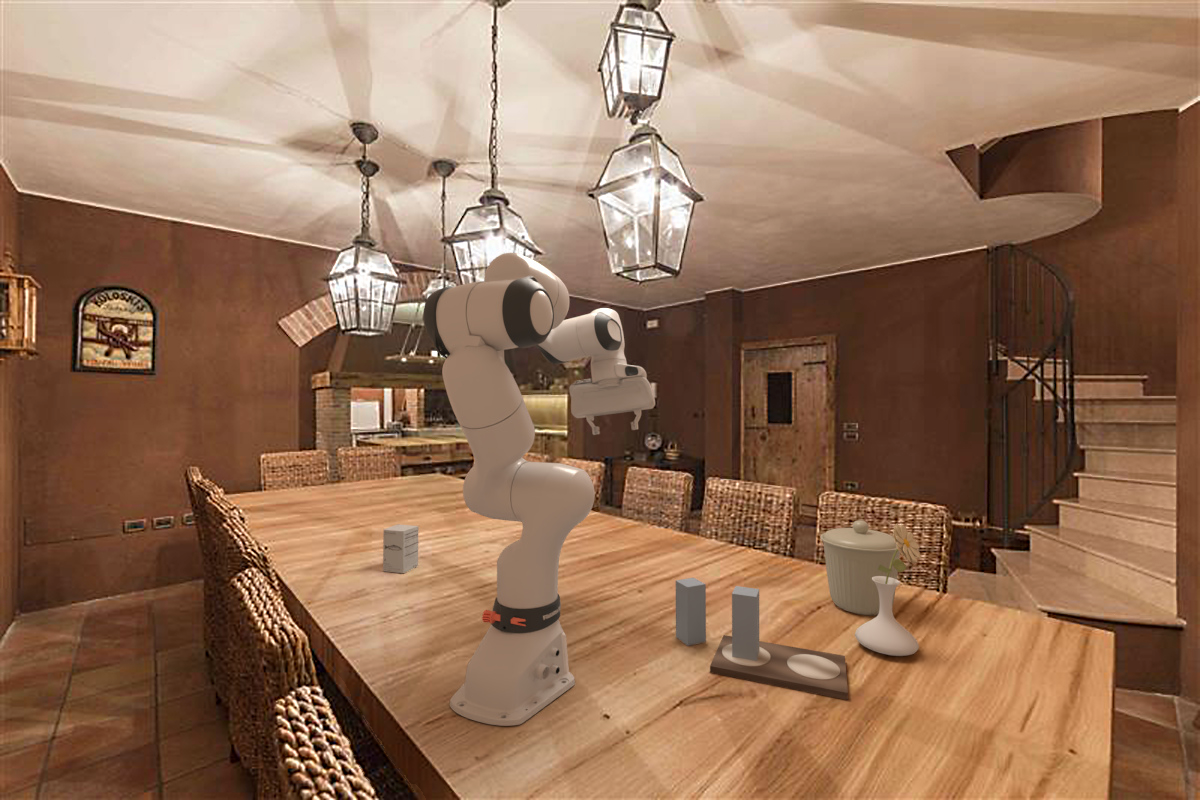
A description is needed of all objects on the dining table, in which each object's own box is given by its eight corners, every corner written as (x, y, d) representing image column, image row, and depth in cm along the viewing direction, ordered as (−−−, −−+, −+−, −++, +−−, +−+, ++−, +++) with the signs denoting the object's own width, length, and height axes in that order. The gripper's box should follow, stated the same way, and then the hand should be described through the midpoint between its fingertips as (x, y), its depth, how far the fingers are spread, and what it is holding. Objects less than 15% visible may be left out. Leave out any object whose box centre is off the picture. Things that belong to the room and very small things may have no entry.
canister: (921, 623, 118) (920, 529, 118) (841, 623, 118) (840, 529, 118) (878, 593, 136) (877, 512, 136) (808, 594, 136) (808, 512, 136)
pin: (756, 661, 98) (756, 596, 98) (732, 656, 100) (731, 593, 100) (759, 650, 102) (759, 589, 102) (735, 646, 104) (735, 585, 104)
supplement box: (382, 572, 155) (382, 529, 155) (398, 564, 162) (398, 523, 162) (403, 574, 153) (403, 530, 153) (419, 566, 160) (419, 525, 160)
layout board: (847, 700, 88) (847, 691, 88) (710, 672, 97) (710, 664, 97) (844, 662, 100) (844, 654, 100) (723, 640, 110) (723, 634, 110)
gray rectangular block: (705, 641, 109) (705, 584, 109) (687, 645, 107) (687, 587, 107) (693, 633, 113) (693, 577, 113) (675, 636, 111) (675, 580, 111)
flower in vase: (885, 665, 99) (884, 533, 99) (842, 639, 110) (841, 520, 110) (939, 656, 103) (939, 528, 103) (893, 632, 114) (892, 516, 114)
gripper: (565, 378, 126) (569, 435, 124) (649, 366, 122) (655, 425, 119) (572, 384, 132) (576, 438, 130) (652, 372, 128) (659, 428, 126)
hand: (615, 431), depth 124 cm, fingers open, 8 cm apart
